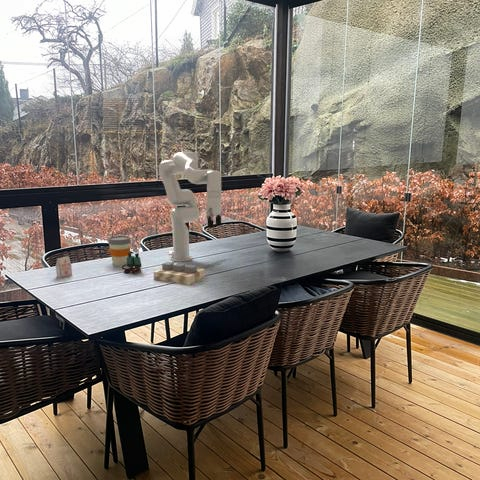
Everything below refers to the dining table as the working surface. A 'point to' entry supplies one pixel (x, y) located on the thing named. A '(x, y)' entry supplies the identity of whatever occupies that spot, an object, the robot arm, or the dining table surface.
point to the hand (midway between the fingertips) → (214, 226)
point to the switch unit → (179, 276)
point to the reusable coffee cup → (119, 249)
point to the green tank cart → (132, 264)
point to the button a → (167, 266)
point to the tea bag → (63, 267)
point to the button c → (191, 269)
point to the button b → (179, 267)
